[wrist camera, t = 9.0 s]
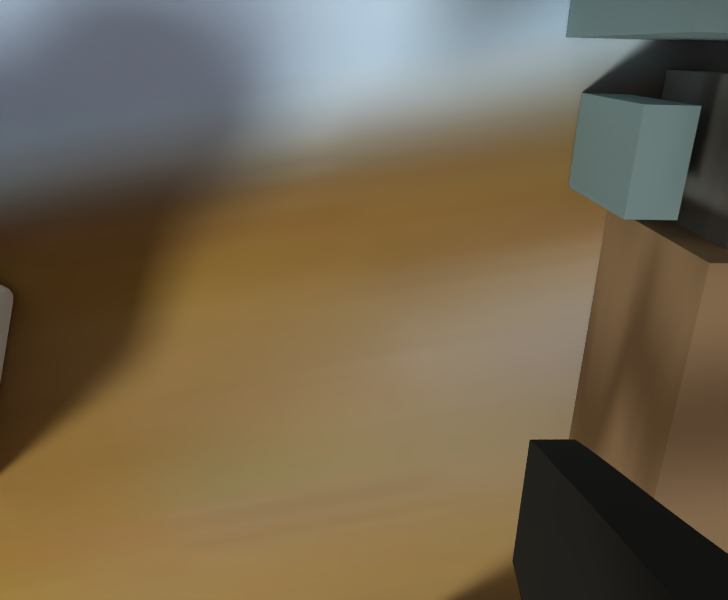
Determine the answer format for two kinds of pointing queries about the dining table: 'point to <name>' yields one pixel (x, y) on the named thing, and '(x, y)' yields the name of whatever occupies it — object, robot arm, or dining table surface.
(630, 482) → the robot arm
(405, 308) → the dining table surface
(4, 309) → the medicine bottle
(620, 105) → the grey boxy pieces
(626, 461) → the rail
